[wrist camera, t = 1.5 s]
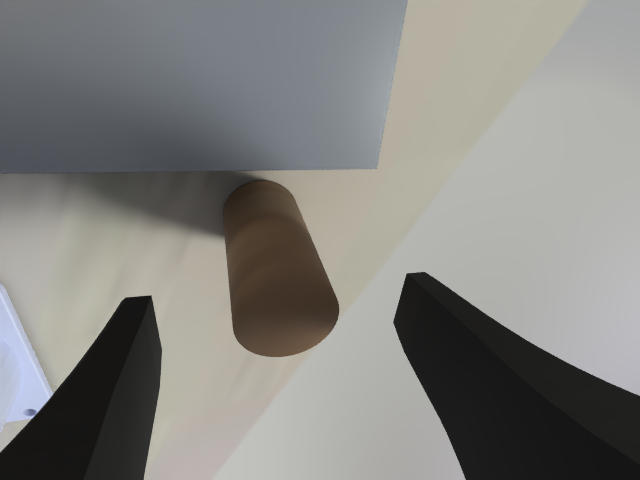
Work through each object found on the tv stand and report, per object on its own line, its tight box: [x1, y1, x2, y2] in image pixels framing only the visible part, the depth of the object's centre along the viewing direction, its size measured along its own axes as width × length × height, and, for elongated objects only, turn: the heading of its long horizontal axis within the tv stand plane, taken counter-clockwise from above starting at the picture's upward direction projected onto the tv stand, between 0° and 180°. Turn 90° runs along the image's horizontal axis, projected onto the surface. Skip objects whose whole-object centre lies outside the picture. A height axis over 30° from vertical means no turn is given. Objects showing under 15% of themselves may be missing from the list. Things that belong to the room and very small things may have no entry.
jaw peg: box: [223, 181, 339, 357], centre depth 13 cm, size 3×3×6 cm
